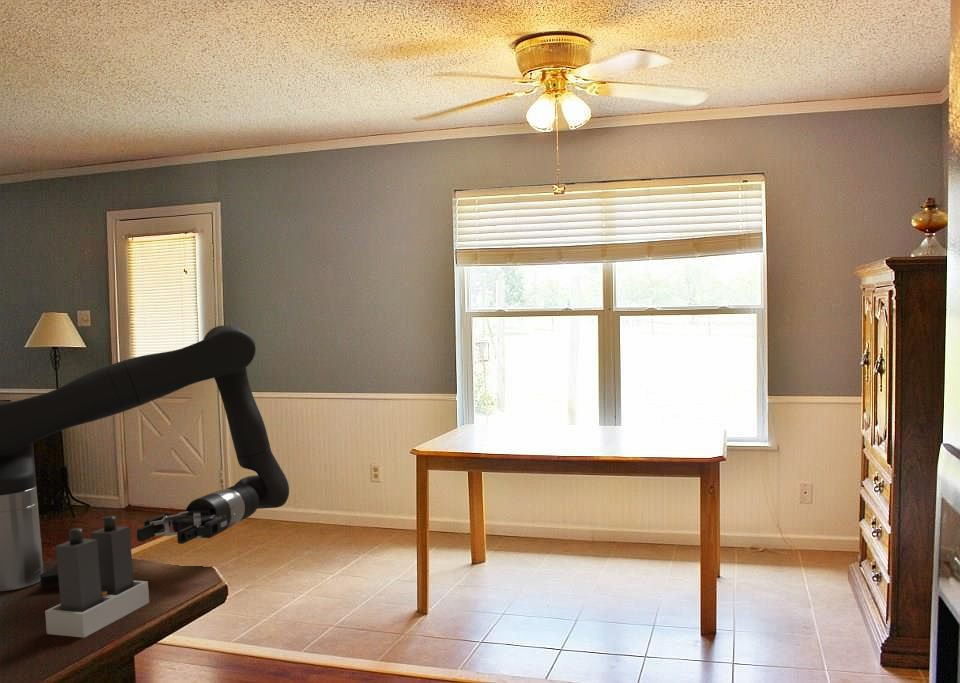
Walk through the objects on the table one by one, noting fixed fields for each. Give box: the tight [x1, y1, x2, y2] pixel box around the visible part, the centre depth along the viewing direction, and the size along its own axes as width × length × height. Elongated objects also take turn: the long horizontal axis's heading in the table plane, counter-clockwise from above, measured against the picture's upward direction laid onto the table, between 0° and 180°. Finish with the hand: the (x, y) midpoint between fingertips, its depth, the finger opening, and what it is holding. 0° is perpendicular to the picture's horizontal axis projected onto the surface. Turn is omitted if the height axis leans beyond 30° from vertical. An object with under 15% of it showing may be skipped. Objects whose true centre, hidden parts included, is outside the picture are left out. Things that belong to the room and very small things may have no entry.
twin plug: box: [55, 527, 102, 612], centre depth 125 cm, size 4×4×15 cm
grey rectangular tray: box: [44, 579, 150, 639], centre depth 129 cm, size 14×7×5 cm, turn 162°
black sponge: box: [40, 564, 59, 591], centre depth 152 cm, size 16×8×4 cm, turn 1°
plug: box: [90, 515, 135, 595], centre depth 132 cm, size 4×4×15 cm
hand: (158, 537), depth 142 cm, fingers open, 8 cm apart
